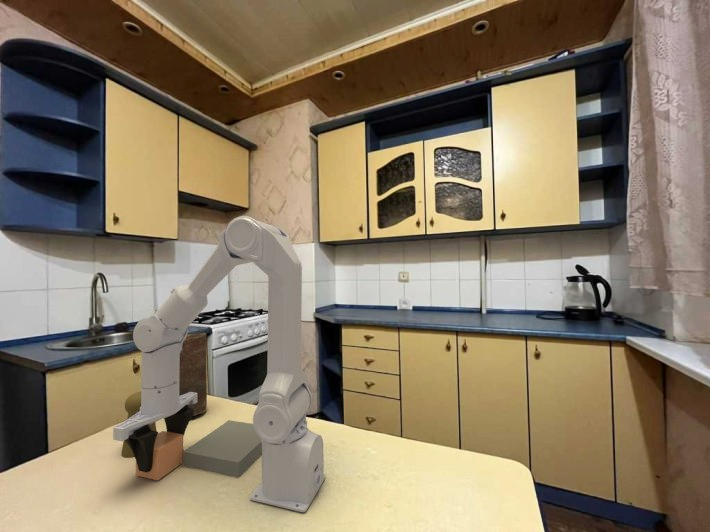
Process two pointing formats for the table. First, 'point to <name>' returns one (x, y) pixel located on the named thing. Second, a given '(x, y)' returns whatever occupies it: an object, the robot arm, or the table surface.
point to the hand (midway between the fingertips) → (160, 460)
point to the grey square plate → (225, 450)
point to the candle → (194, 370)
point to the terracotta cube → (164, 455)
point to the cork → (132, 408)
